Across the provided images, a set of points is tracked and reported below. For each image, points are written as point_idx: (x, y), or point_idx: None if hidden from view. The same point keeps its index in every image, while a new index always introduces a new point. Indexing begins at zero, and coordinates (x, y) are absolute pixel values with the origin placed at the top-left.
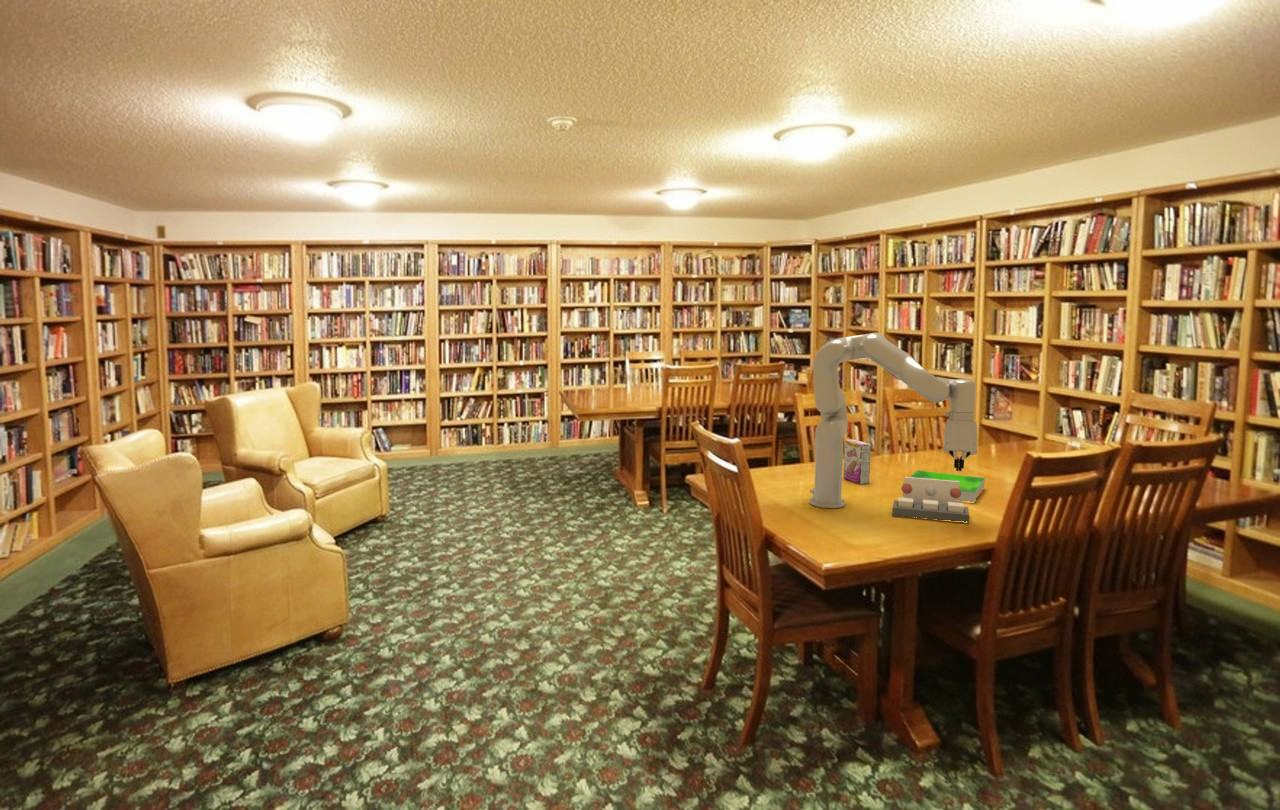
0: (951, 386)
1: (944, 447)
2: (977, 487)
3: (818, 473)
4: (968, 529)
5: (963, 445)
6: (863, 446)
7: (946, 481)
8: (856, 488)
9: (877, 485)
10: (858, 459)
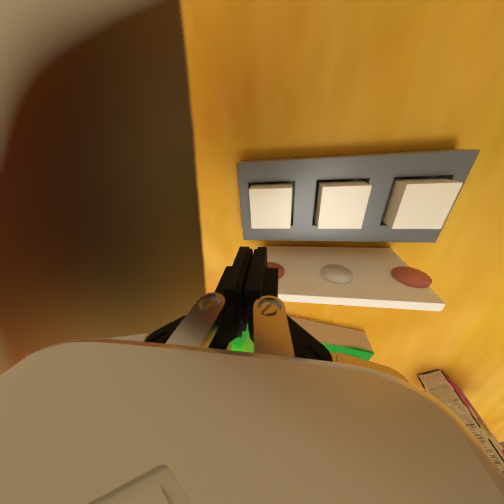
0: None
1: (463, 424)
2: (232, 348)
3: None
4: (239, 97)
5: (114, 447)
6: None
7: (296, 293)
8: (460, 349)
9: (402, 368)
10: (489, 437)
